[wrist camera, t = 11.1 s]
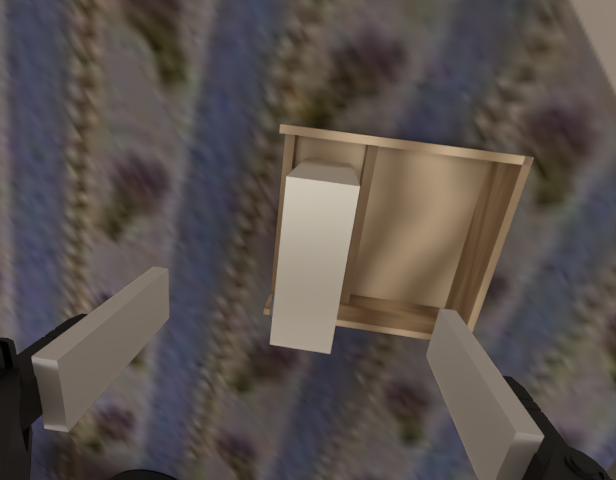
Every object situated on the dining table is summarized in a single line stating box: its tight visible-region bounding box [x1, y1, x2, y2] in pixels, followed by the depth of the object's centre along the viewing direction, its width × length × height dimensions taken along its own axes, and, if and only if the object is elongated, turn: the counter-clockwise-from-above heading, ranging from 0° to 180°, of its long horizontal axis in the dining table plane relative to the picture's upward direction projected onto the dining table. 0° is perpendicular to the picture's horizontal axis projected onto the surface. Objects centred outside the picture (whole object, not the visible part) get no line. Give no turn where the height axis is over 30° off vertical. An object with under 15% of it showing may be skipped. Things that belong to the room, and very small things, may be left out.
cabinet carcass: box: [264, 124, 534, 340], centre depth 28 cm, size 18×16×6 cm
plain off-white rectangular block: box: [270, 157, 360, 354], centre depth 25 cm, size 4×11×12 cm, turn 173°
